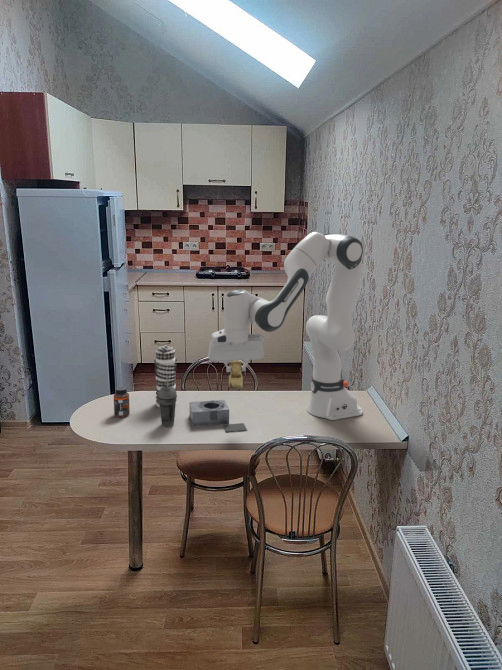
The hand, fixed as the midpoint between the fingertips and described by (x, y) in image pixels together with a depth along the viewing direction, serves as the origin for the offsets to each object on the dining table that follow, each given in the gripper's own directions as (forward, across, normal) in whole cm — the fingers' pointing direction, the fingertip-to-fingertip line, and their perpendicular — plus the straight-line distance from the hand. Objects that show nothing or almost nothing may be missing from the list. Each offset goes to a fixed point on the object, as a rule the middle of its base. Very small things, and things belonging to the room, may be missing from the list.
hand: (235, 371), depth 192 cm
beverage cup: (+23, +24, -8) cm, 34 cm away
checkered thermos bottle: (+23, +24, -28) cm, 43 cm away
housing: (+23, +8, -9) cm, 26 cm away
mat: (+23, 0, 0) cm, 23 cm away
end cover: (+6, 0, 0) cm, 6 cm away
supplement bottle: (+23, +42, -20) cm, 51 cm away
